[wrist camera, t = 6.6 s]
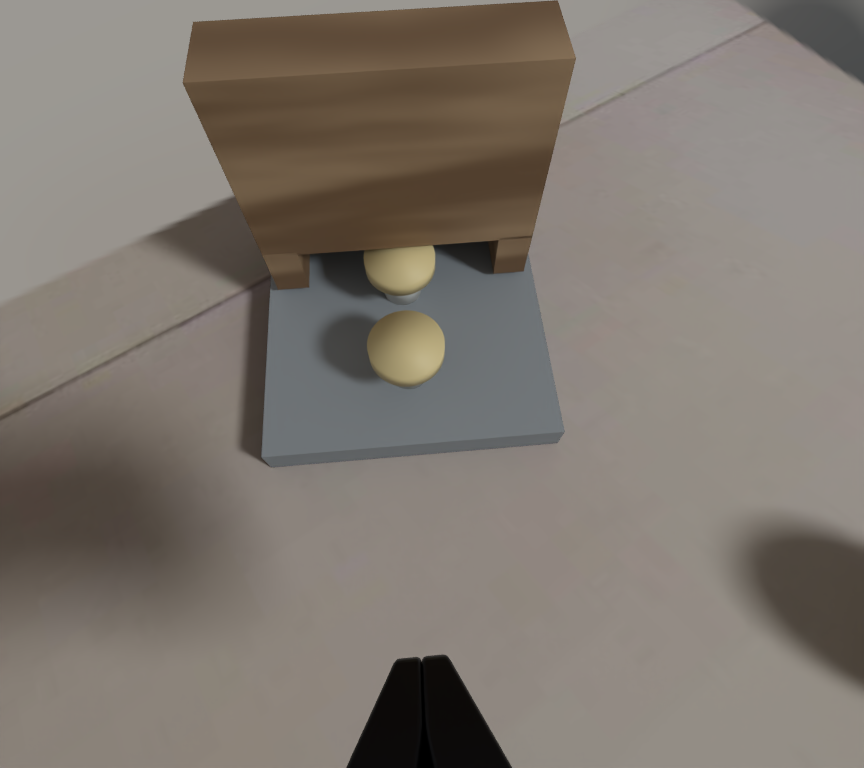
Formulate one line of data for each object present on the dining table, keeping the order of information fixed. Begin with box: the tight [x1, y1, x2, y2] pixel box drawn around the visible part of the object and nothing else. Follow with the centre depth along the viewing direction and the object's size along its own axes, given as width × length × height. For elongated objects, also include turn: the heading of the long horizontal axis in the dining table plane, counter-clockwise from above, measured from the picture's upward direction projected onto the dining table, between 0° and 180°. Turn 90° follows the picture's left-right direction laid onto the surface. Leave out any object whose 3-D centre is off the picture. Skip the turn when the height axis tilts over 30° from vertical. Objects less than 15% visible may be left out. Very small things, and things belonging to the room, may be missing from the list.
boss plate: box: [261, 241, 565, 467], centre depth 24 cm, size 13×13×6 cm
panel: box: [183, 1, 576, 290], centre depth 22 cm, size 3×12×11 cm, turn 95°
